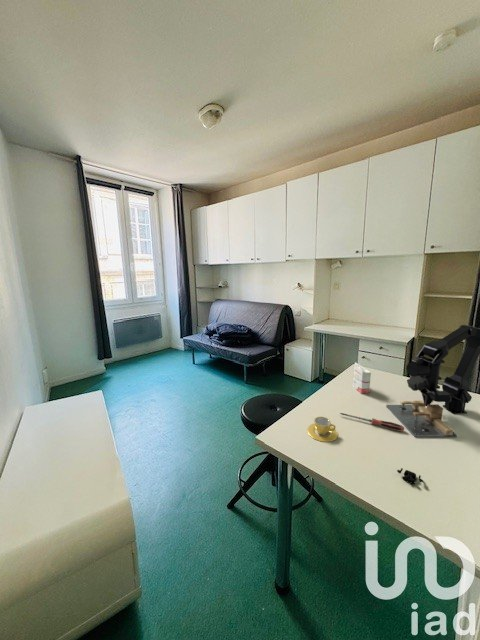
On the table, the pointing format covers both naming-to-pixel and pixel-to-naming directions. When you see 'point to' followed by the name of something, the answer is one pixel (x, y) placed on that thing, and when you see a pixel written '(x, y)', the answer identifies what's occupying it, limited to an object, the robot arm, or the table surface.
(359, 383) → the ink cartridge box
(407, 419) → the steel plate
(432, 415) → the slider leg
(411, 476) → the wireless earbuds
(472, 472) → the table surface
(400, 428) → the screwdriver
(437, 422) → the compass bar
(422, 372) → the robot arm
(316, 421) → the cup
